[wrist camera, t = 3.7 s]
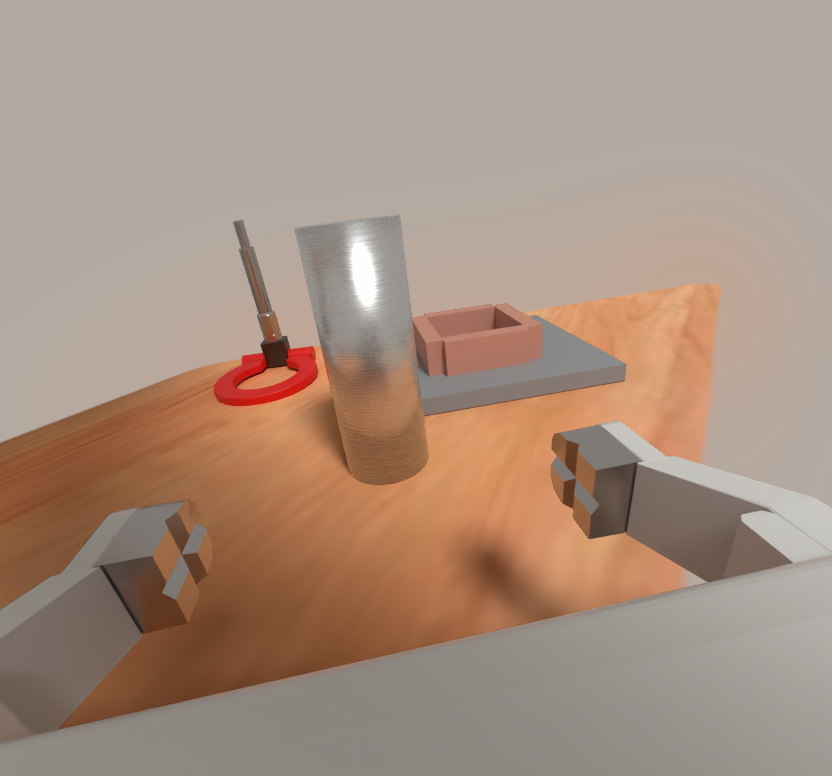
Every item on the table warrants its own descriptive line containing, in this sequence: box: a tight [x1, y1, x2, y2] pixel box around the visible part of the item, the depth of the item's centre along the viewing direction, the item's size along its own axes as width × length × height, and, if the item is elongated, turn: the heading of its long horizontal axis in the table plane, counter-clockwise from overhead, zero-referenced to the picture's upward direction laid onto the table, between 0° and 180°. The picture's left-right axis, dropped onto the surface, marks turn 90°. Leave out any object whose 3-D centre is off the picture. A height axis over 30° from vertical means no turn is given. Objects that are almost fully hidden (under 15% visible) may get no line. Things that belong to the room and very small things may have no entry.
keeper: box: [412, 303, 626, 416], centre depth 32 cm, size 17×14×4 cm
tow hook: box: [214, 220, 318, 406], centre depth 31 cm, size 8×13×9 cm
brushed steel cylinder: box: [295, 215, 428, 485], centre depth 19 cm, size 4×4×12 cm
